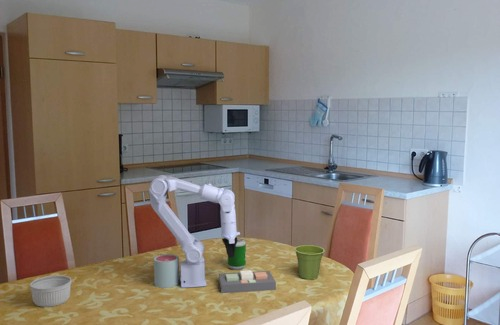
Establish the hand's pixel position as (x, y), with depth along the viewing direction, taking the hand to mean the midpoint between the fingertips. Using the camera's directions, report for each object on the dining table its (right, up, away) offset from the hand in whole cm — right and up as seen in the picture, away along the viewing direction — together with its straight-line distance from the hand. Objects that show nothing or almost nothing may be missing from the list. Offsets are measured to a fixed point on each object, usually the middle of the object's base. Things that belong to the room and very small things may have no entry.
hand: (230, 257), depth 174 cm
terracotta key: (+11, -10, 0) cm, 15 cm away
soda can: (+2, -9, +19) cm, 21 cm away
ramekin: (-62, -12, -15) cm, 65 cm away
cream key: (+6, -9, -1) cm, 11 cm away
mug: (-24, -10, +4) cm, 26 cm away
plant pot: (+31, -10, +9) cm, 33 cm away
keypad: (+6, -11, -1) cm, 12 cm away
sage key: (+1, -10, -2) cm, 10 cm away
